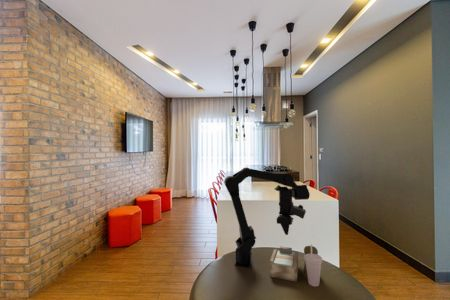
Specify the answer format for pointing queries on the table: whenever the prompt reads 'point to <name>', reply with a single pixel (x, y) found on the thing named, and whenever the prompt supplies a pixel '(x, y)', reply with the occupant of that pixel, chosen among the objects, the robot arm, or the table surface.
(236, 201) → the robot arm
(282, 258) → the lid
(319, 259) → the smoothie
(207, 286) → the table surface
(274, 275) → the box
